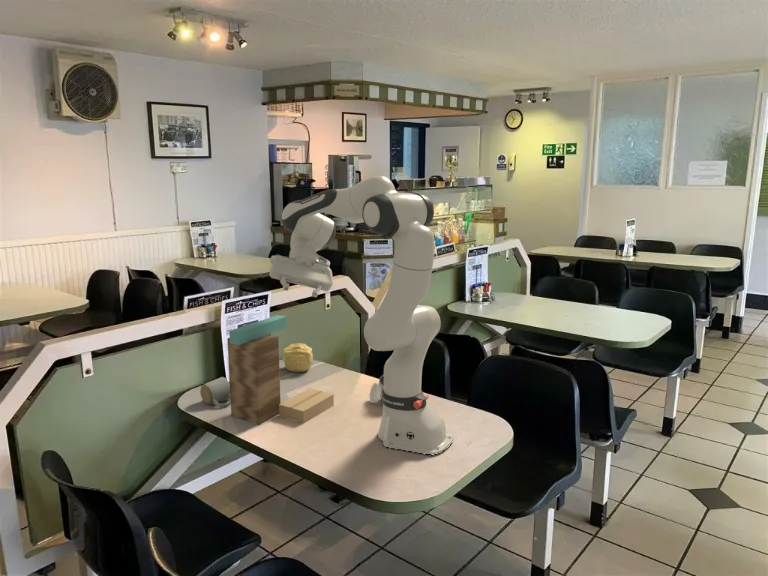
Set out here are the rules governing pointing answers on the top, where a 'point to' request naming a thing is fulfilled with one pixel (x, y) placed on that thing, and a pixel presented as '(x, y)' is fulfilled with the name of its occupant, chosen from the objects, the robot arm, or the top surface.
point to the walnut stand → (254, 379)
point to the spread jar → (377, 390)
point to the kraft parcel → (306, 405)
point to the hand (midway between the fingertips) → (300, 292)
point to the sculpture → (298, 357)
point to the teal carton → (257, 329)
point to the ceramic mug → (216, 392)
